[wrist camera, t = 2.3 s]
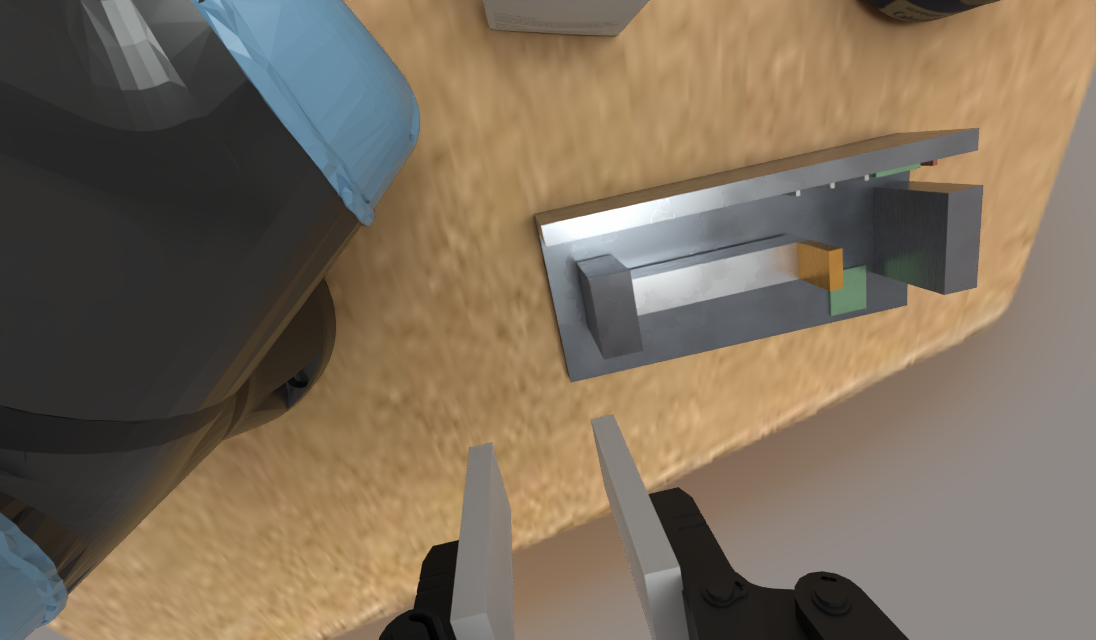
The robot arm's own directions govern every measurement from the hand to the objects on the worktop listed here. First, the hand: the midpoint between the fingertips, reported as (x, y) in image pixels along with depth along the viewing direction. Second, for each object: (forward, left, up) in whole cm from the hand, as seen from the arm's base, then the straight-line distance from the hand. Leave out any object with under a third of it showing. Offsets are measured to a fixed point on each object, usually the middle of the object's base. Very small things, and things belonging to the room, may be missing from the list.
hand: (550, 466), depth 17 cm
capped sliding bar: (+11, 0, -18) cm, 21 cm away
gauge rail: (+15, 0, -20) cm, 24 cm away
